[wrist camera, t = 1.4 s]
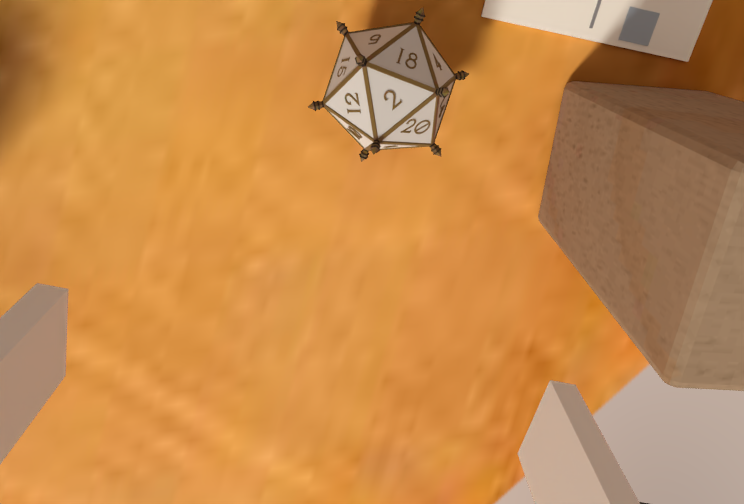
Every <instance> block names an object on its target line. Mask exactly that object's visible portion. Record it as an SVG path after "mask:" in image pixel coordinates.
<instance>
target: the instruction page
mask: <svg viewBox="0 0 744 504" xmlns="http://www.w3.org/2000/svg"><path fill="white" fill-rule="evenodd" d="M712 1H713V0H485V2H484V6H483V10H482V14H481V17H486V18H490V19H495V20H500V21H504V22H509V23H513V24H518V25H522V26H527V27H531V28H536V29H541V30H545V31H550V32H554V33H559V34H563V35H568V36H572V37H577V38H581V39H586V40H591V41H595V42H600V43H604V44H609V45H613V46H618V47H622V48H627V49H632V50H636V51H641V52H645V53H650V54H654V55H659V56H663V57H668V58H673V59H677V60H682V61H686V62H688V61H689V59H690V56H691V54H692V51H693V49H694V46H695V44H696V41H697V39H698V36H699V34H700V31H701V29H702V26H703V24H704V21H705V19H706V16H707V14H708V11H709V9H710V6H711V4H712Z"/></svg>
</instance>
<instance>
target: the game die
mask: <svg viewBox="0 0 744 504" xmlns="http://www.w3.org/2000/svg"><path fill="white" fill-rule="evenodd" d="M424 17H425V15H424V9H423V8H421V9H420V10H419V11H418V12H416V16H414V18H415V21H414V22H412V23H406V24H399V25H393V26H386V27H380V28H373V29H367V30H360V31H354V32H348V30H347V27H346V26H345V23H344V24H343V23H340V22H338V21H336V22H337V30H339V31H340V34H343V35H344V39H343V42H342V45H341V48H340V51H339V54H338V57H337V60H336V63H335V66H334V69H333V72H332V75H331V78H330V81H329V84H328V87H327V90H326V93H325V96H324V99H323V101H322V102H320V101H317V102H314V101H313V103H312V104H311V105H310V106H308V108H311V109H313V110H315V111H316V110H317V109H319V110H320V108H322V107H324V108H325V109H326V110H327V111H328V112H329V113H330V114H331V115H332V116H333V117H334V118H335V119H336V120H337V121H338V122H339V123H340V124H341V125H342V126H343V128H344V129H345V130H346V131H347V132H348V133H349V134H350V135H351V136H352V137H353V138H354V139H355V140H356V141H357V142H358V143H359V144H360V145H361V146H362V147H363V148H364V149H363V150H362V151H361V154H359V155H360V157H361V162H362V161H363V160H364V159H367V158H368V155H369V153H368V151H372V153H373V154H375V153H377V152H378V151H380V150H385V149H400V148H414V147H428V146H429V147H431V151H432V152H433V153H434V154H435V155H438V156H441V148H439V147H438V145H436V144H435V143H434V142H435V139H436V136H437V133H438V130H439V127H440V124H441V121H442V118H443V115H444V112H445V110H446V107H447V104H448V101H449V98H450V95H451V92H452V89H453V86H454V83H455V80H456V79H458V80H461V79H463V80H464V79H465V77H466V76H468V75H469V73H466V72H464V71H463V70H462V71H461V72H459V71H458V73H456V74H454V73H453V71H452V70H451V68H450V67H449V66H448V64H447V63H446V61H445V60H444V59H443V57H442V56H441V54H440V53H439V52H438V50H437V49H436V47H435V46H434V44H433V43H432V42H431V40H430V39H429V37H428V36H427V35H426V33H425V32H424V30H423V29H422V28H421V26H420V23H421V22H422V21H423V18H424Z"/></svg>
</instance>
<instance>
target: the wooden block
mask: <svg viewBox="0 0 744 504" xmlns="http://www.w3.org/2000/svg"><path fill="white" fill-rule="evenodd" d="M538 217H539V221H540V223H541V224H542V225H543V227H544V228H545V229H546V230H547V232H548V233H549V234H550V236H551V237H552V238H553V239H554V241H555V242H556V243H557V245H558V246H559V247H560V248H561V250H562V251H563V252H564V254H565V255H566V256H567V257H568V259H569V260H570V261H571V263H572V264H573V265H574V267H575V268H576V269H577V270H578V272H579V273H580V274H581V276H582V277H583V278H584V279H585V281H586V282H587V283H588V285H589V286H590V287H591V288H592V290H593V291H594V292H595V294H596V295H597V296H598V297H599V299H600V300H601V301H602V303H603V304H604V305H605V306H606V308H607V309H608V310H609V312H610V313H611V314H612V315H613V317H614V318H615V319H616V321H617V322H618V323H619V325H620V326H621V327H622V328H623V330H624V331H625V332H626V334H627V335H628V336H629V337H630V339H631V340H632V341H633V343H634V344H635V345H636V346H637V348H638V349H639V350H640V352H641V353H642V354H643V355H644V357H645V358H646V359H647V361H648V362H649V363H650V364H651V366H652V367H653V368H654V370H655V371H656V372H657V373H658V375H659V376H660V377H661V379H662V380H663V381H664V382H665V383H667V384H669V385H671V386H674V387H679V388H698V389H699V388H700V389H718V390H738V391H744V102H742V101H738V100H735V99H732V98H728V97H725V96H722V95H718V94H715V93H712V92H708V91H698V90H685V89H672V88H659V87H646V86H633V85H620V84H607V83H594V82H581V81H572V82H569V83H567V84H566V86H565V88H564V93H563V98H562V102H561V107H560V112H559V117H558V122H557V127H556V132H555V137H554V142H553V147H552V152H551V157H550V162H549V166H548V171H547V176H546V181H545V186H544V191H543V196H542V201H541V206H540V211H539V216H538Z"/></svg>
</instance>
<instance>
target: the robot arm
mask: <svg viewBox="0 0 744 504" xmlns="http://www.w3.org/2000/svg"><path fill="white" fill-rule="evenodd" d="M67 313H68V289H65V288H60V287H55V286H50V285H44V284H39V283H37V284H36V285H35V286H34V287H32V288H31V289H30V290H29V291H28V292H27V293H26V294H25V295H24V296H23V297H22V298H21V299H20V300H19V301H18V302H17V303H16V304H15V305H13V306H12V307H11V308H10V309H9V310H8V311H7V312H6V313H5V314H4V315H3V316H2V317H1V318H0V464H1V463H2V461H3V460H4V459H5V457H6V456H7V454H8V453H9V452H10V450H11V449H12V448H13V446H14V445H15V444H16V442H17V441H18V440H19V438H20V437H21V435H22V434H23V433H24V431H25V430H26V429H27V427H28V426H29V425H30V423H31V422H32V421H33V419H34V418H35V416H36V415H37V414H38V412H39V411H40V410H41V408H42V407H43V406H44V404H45V403H46V402H47V400H48V399H49V397H50V396H51V395H52V393H53V392H54V391H55V389H56V388H57V387H58V385H59V384H60V382H61V381H62V380H63V378H64V377H65V373H66V343H67ZM518 456H519V459H520V462H521V465H522V468H523V471H524V474H525V477H526V479H527V483H528V485H529V488H530V491H531V494H532V497H533V500H534V503H535V504H648V503H641V502H639V501H638V499H637V497H636V495H635V494H634V492H633V490H632V488H631V486H630V485H629V483H628V481H627V479H626V477H625V475H624V474H623V472H622V470H621V468H620V466H619V464H618V462H617V461H616V459H615V457H614V455H613V453H612V451H611V450H610V448H609V446H608V444H607V442H606V440H605V438H604V437H603V435H602V433H601V431H600V429H599V427H598V425H597V424H596V422H595V420H594V418H593V416H592V414H591V413H590V411H589V409H588V407H587V405H586V403H585V402H584V400H583V398H582V396H581V394H580V392H579V390H578V389H577V387H576V385H573V384H568V383H563V382H557V381H552V380H550V382H549V384H548V386H547V388H546V391H545V393H544V395H543V397H542V400H541V402H540V404H539V406H538V409H537V411H536V413H535V416H534V418H533V420H532V422H531V425H530V427H529V429H528V431H527V434H526V436H525V438H524V440H523V443H522V445H521V447H520V449H519V452H518Z"/></svg>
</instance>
